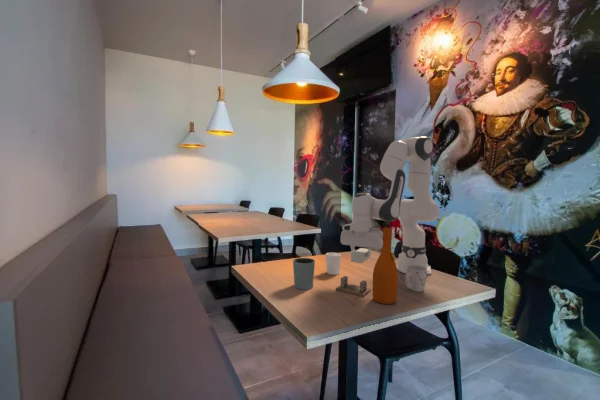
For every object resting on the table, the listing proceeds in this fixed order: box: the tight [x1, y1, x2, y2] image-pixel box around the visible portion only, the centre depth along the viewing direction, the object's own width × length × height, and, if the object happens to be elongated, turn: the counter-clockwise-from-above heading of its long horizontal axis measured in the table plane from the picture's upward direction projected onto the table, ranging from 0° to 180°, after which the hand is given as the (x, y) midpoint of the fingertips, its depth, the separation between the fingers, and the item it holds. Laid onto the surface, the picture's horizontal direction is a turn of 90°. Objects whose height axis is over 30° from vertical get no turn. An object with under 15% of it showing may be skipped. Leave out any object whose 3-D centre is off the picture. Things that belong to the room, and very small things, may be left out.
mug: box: [404, 265, 427, 293], centre depth 136 cm, size 11×8×10 cm
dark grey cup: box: [292, 257, 316, 290], centre depth 138 cm, size 10×10×12 cm
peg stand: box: [335, 275, 372, 298], centre depth 133 cm, size 8×13×5 cm, turn 57°
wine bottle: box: [372, 226, 399, 305], centre depth 122 cm, size 10×10×30 cm
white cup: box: [325, 251, 342, 276], centre depth 159 cm, size 8×8×10 cm
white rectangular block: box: [350, 247, 371, 264], centre depth 144 cm, size 12×5×4 cm, turn 147°
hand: (361, 255), depth 144 cm, fingers closed on white rectangular block, 5 cm apart
